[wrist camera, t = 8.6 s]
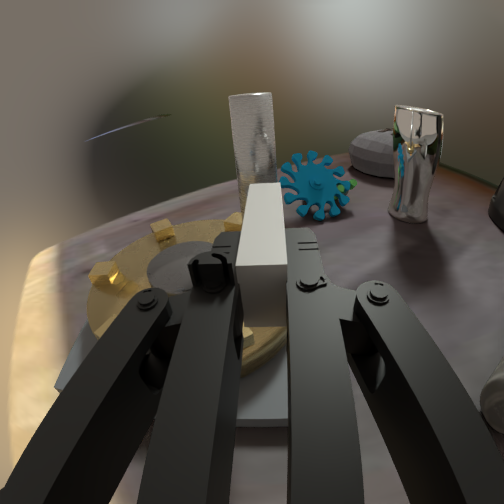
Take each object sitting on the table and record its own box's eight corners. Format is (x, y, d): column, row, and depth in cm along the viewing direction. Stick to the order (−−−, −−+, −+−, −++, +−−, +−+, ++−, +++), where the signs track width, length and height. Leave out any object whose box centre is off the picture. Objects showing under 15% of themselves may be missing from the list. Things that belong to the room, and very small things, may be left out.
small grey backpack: (382, 153, 62) (332, 166, 54) (384, 121, 58) (332, 126, 49) (435, 171, 52) (395, 189, 43) (439, 136, 47) (400, 142, 39)
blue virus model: (282, 216, 33) (277, 145, 35) (273, 229, 39) (270, 166, 41) (364, 219, 35) (353, 152, 37) (346, 231, 40) (338, 170, 42)
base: (305, 244, 31) (305, 229, 30) (333, 422, 15) (339, 411, 14) (136, 252, 33) (132, 239, 32) (64, 396, 16) (50, 384, 15)
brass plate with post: (184, 229, 32) (160, 104, 24) (329, 265, 25) (336, 93, 16) (68, 323, 20) (-4, 168, 12) (224, 438, 13) (110, 152, 5)
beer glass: (380, 217, 35) (390, 105, 27) (389, 199, 40) (396, 103, 31) (428, 230, 31) (446, 116, 23) (430, 210, 36) (443, 113, 28)
